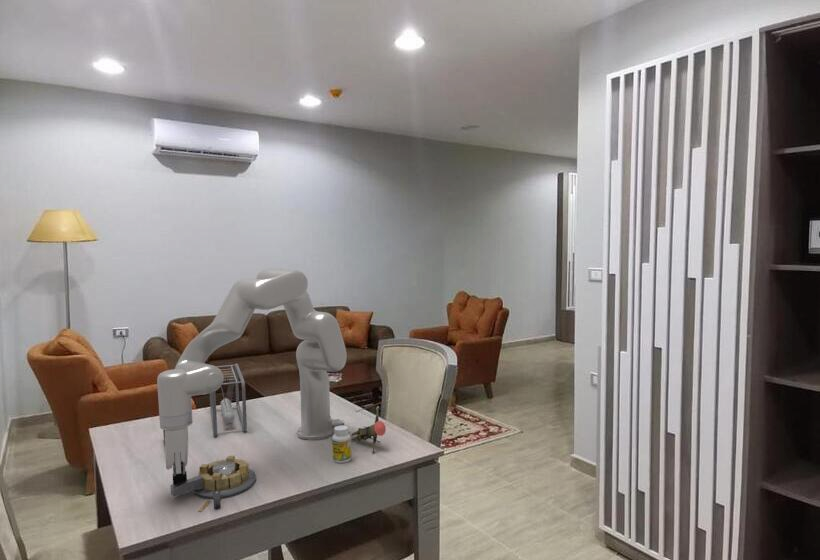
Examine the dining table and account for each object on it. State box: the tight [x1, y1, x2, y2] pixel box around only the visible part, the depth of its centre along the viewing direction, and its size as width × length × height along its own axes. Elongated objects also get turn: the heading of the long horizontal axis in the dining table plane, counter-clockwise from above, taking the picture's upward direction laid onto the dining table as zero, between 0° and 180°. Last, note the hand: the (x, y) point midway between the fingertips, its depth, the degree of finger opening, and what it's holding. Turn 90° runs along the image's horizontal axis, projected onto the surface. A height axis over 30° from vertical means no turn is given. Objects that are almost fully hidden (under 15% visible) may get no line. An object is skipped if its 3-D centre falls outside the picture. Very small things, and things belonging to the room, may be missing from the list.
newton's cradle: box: [209, 363, 248, 437], centre depth 184 cm, size 30×10×18 cm, turn 23°
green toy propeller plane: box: [348, 397, 394, 455], centre depth 162 cm, size 16×10×20 cm
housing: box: [191, 461, 257, 513], centre depth 135 cm, size 16×21×5 cm
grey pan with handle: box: [170, 455, 250, 498], centre depth 135 cm, size 20×12×4 cm, turn 136°
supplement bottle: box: [331, 425, 352, 464], centre depth 152 cm, size 5×5×10 cm
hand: (180, 488), depth 132 cm, fingers closed
